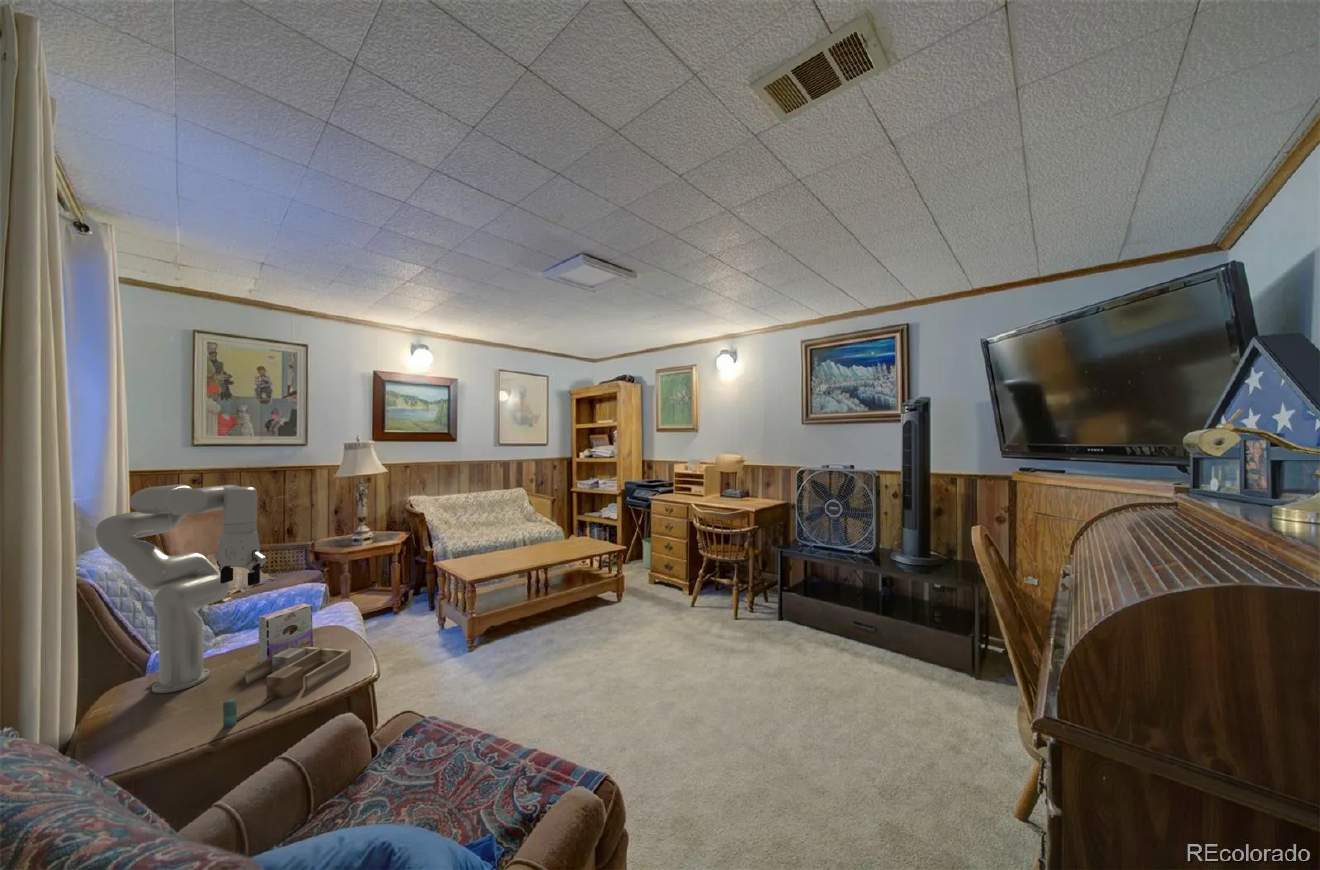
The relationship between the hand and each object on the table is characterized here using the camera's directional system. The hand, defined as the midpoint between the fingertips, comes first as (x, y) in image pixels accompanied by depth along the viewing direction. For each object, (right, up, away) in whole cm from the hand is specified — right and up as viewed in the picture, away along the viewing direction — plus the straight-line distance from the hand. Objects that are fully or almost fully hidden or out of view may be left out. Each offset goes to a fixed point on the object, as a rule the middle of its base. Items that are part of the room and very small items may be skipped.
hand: (240, 583), depth 139 cm
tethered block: (+15, -33, -9) cm, 37 cm away
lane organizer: (+12, -33, +8) cm, 36 cm away
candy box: (-3, -33, +20) cm, 39 cm away
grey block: (+7, -32, +10) cm, 34 cm away
